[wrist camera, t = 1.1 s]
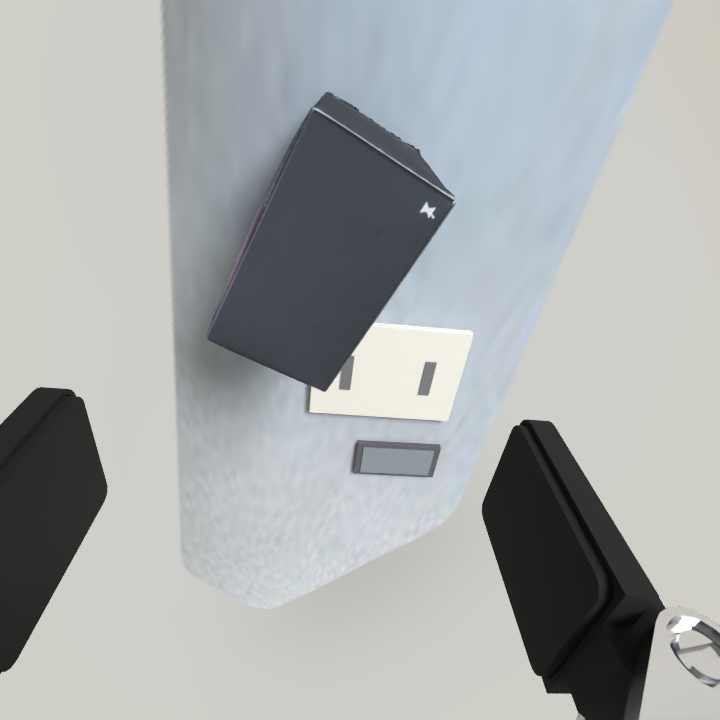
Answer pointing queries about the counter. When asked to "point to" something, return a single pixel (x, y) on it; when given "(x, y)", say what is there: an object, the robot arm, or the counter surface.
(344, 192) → the small box
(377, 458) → the phone
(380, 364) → the outlet plate
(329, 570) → the counter surface
